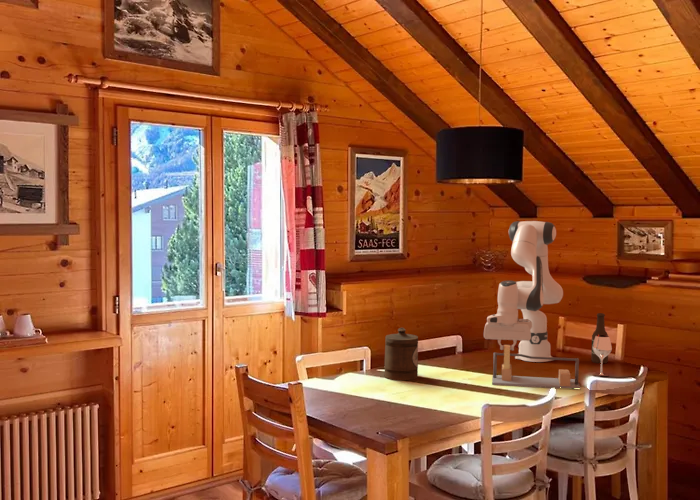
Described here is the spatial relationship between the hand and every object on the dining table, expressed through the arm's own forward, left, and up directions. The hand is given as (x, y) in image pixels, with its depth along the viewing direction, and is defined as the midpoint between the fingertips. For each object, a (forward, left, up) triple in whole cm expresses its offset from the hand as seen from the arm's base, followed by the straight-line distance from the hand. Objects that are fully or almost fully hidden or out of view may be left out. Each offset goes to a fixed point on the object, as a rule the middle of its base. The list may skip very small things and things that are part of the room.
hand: (506, 349), depth 310 cm
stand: (+2, +12, -14) cm, 18 cm away
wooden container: (+3, -46, -14) cm, 48 cm away
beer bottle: (-48, +45, -14) cm, 67 cm away
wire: (+2, +12, -2) cm, 12 cm away
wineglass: (-19, +42, -14) cm, 48 cm away
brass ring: (0, 0, -8) cm, 8 cm away
